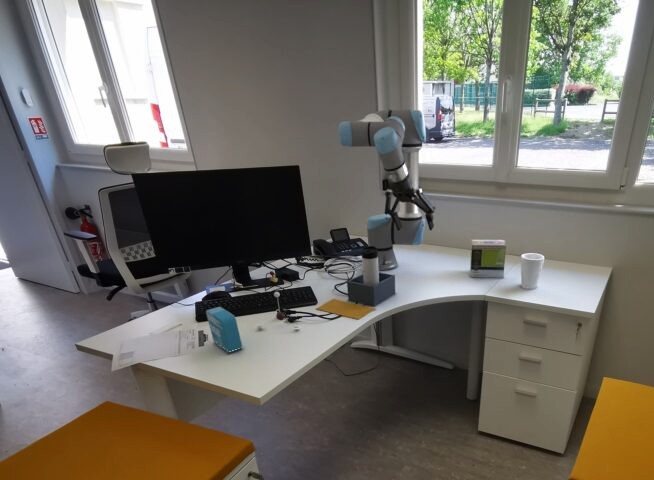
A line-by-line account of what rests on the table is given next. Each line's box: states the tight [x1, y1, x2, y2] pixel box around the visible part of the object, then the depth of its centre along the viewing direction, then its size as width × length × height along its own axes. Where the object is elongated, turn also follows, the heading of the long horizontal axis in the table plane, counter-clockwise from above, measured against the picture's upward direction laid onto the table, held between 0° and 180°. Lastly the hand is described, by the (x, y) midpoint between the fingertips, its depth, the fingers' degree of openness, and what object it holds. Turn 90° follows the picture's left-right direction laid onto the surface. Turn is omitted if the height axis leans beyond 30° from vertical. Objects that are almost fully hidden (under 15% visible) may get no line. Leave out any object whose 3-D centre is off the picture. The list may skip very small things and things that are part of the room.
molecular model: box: [256, 291, 301, 332], centre depth 158 cm, size 13×15×13 cm
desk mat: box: [315, 298, 376, 321], centre depth 174 cm, size 20×11×1 cm, turn 61°
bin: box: [346, 271, 396, 308], centre depth 183 cm, size 13×16×8 cm
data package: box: [205, 306, 243, 354], centre depth 145 cm, size 12×4×12 cm, turn 45°
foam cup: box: [520, 252, 545, 290], centre depth 191 cm, size 10×9×13 cm
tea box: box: [469, 239, 507, 278], centre depth 204 cm, size 15×10×15 cm
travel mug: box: [361, 246, 380, 286], centre depth 180 cm, size 6×7×20 cm
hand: (415, 228), depth 173 cm, fingers open, 13 cm apart
